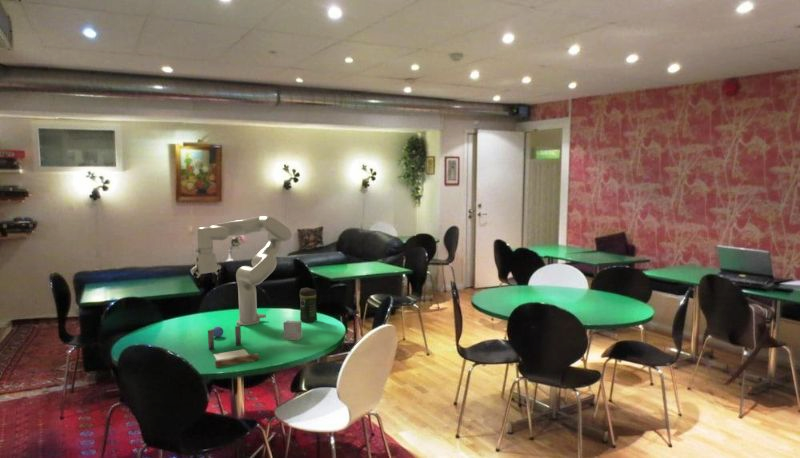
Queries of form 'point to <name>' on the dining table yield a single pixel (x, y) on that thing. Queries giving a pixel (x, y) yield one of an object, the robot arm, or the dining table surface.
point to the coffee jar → (308, 305)
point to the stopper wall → (236, 360)
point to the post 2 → (238, 335)
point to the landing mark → (230, 354)
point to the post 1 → (211, 339)
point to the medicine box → (292, 330)
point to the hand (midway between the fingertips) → (206, 283)
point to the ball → (218, 331)
